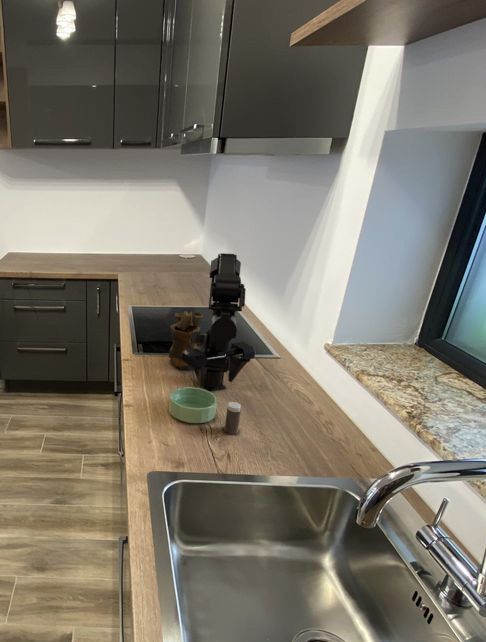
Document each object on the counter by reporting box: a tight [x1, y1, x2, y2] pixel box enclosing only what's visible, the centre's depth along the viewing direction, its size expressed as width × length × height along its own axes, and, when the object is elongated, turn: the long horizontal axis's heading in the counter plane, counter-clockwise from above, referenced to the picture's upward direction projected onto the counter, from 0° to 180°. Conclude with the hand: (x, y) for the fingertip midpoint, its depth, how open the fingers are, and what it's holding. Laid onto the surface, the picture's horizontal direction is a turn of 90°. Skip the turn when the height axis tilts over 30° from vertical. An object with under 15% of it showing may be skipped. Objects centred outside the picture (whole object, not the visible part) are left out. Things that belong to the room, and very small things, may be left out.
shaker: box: [223, 401, 242, 436], centre depth 118 cm, size 4×4×8 cm
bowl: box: [168, 386, 218, 424], centre depth 127 cm, size 13×13×5 cm
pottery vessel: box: [168, 310, 204, 371], centre depth 156 cm, size 25×11×20 cm, turn 164°
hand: (215, 384), depth 117 cm, fingers open, 9 cm apart
